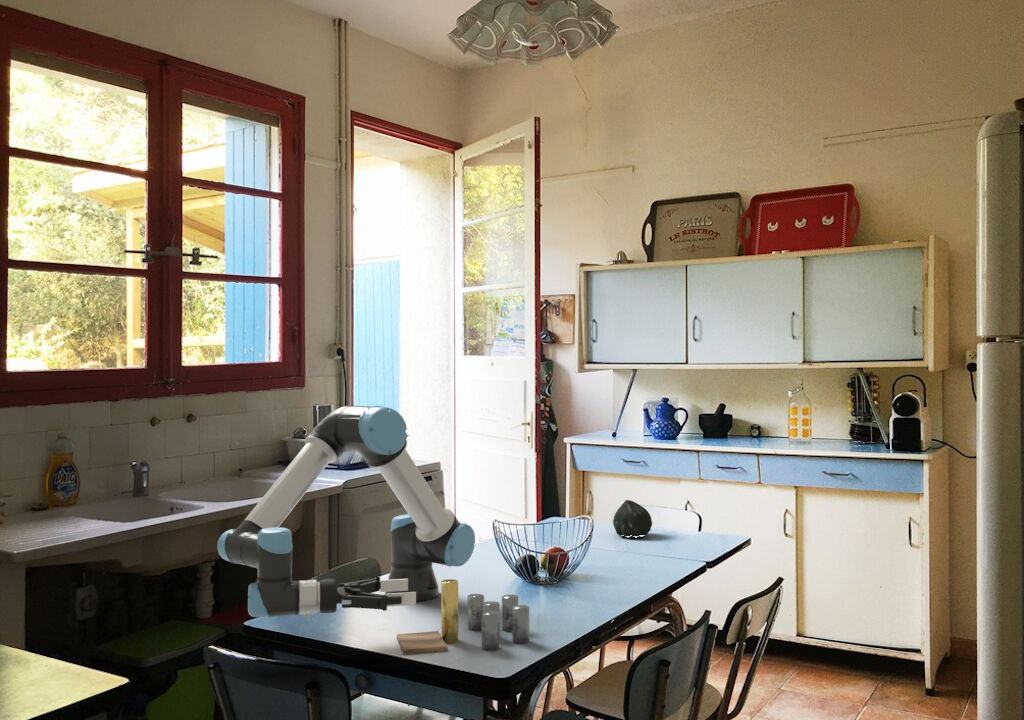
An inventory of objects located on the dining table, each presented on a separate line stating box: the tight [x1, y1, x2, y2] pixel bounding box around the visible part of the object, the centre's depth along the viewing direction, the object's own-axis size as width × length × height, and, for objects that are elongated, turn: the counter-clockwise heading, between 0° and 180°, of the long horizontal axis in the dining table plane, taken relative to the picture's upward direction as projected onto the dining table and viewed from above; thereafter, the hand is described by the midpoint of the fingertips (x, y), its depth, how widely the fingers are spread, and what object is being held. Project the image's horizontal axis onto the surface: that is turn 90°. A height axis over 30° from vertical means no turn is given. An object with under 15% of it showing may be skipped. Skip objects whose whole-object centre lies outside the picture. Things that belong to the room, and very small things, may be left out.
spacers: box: [467, 593, 530, 652], centre depth 210 cm, size 20×12×8 cm, turn 14°
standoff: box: [440, 578, 460, 644], centre depth 207 cm, size 4×4×14 cm
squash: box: [612, 499, 653, 536], centre depth 333 cm, size 14×15×15 cm
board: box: [396, 630, 448, 655], centre depth 204 cm, size 12×10×1 cm
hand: (411, 591), depth 204 cm, fingers open, 13 cm apart
